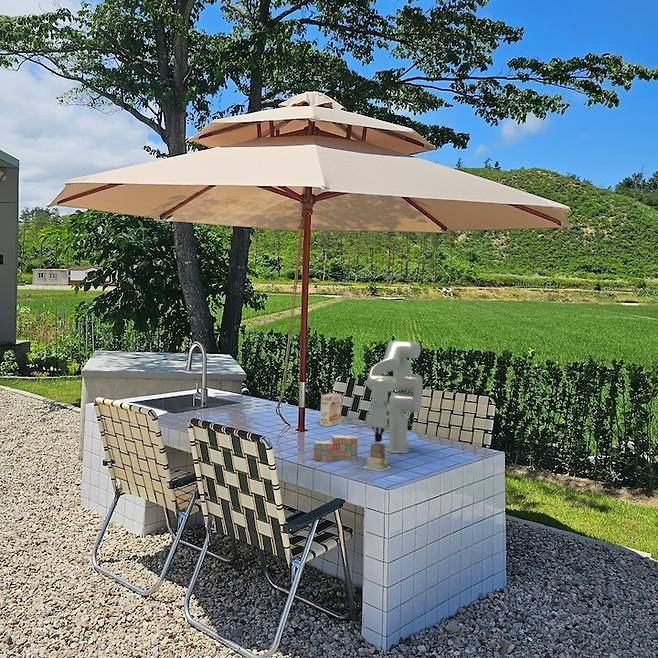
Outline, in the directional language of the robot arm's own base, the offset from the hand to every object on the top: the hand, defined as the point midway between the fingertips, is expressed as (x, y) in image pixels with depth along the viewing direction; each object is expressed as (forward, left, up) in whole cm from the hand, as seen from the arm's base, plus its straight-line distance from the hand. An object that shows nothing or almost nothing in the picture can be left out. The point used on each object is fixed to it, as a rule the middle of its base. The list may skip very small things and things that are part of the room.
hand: (378, 441), depth 333 cm
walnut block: (0, 0, -8) cm, 8 cm away
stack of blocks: (0, -26, -14) cm, 29 cm away
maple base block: (0, 0, -13) cm, 13 cm away
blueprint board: (0, 0, -14) cm, 14 cm away
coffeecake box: (-73, -82, -14) cm, 110 cm away
